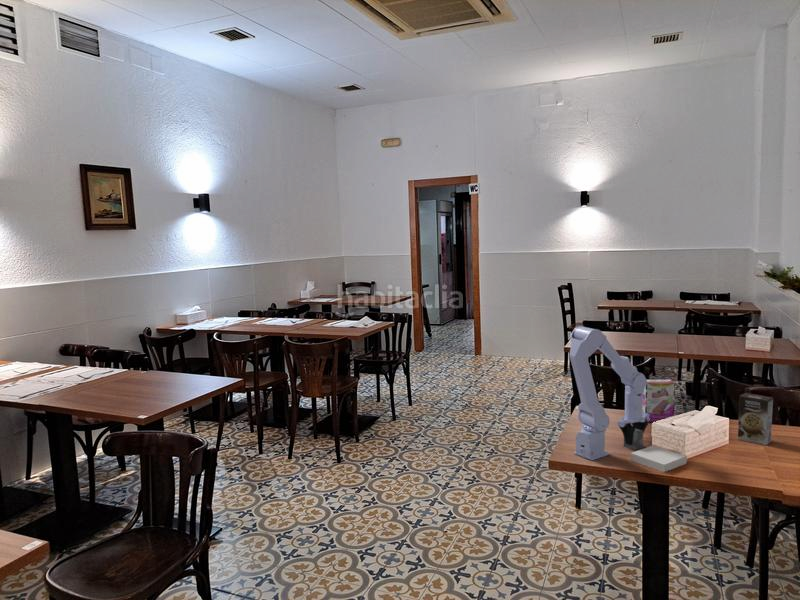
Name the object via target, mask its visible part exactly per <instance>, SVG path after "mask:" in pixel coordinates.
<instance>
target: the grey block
mask: <svg viewBox="0 0 800 600" xmlns="http://www.w3.org/2000/svg"><path fill="white" fill-rule="evenodd" d="M623 447H624V448H625V449H626V448H627V449H631V451H632V450H633V451H638V450H641V449H644V433H643V431H642V430H638V429H635V431H634V434H633V442H632V445H629V444H626V442H625V439H624V438H623Z"/></svg>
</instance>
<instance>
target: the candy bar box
mask: <svg viewBox="0 0 800 600" xmlns="http://www.w3.org/2000/svg"><path fill="white" fill-rule="evenodd" d="M646 380H647V384H646V386H645V387H644V392H643V413H647V414H649V419H648V420H646V419H645V421H647V422H648V423H655V422H654V421H657V420H661V419H665V418H667V417H669V416H673V415H674V416H675V401H676V399H675V396H676V394H675V393H676V389H675V388H676V381H673V380H672V379H646Z"/></svg>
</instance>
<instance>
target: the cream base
mask: <svg viewBox="0 0 800 600" xmlns="http://www.w3.org/2000/svg"><path fill="white" fill-rule="evenodd" d="M687 458H688V456H687V455H685V454H681V453H679V452H676V451H672V450H670V449H666V448H663V447H660V446H656V445H653V444H652V445H650V446H647V447H643V448H640V449H637V450H634V451H633V452H631V453H630V461H631V462H634V463H637V464H640V465H643V466H646V467H649V468H650V469H653V470H656V471H659V472H661V473H666V472H668V470H669V471H672V470H674V469H675V468H679V467H681V466H684V465H686V464H687V460H688V459H687ZM665 471H666V472H665Z"/></svg>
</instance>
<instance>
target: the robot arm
mask: <svg viewBox="0 0 800 600" xmlns="http://www.w3.org/2000/svg"><path fill="white" fill-rule="evenodd" d="M569 338H570V348H569V349H570V350H569V359H570V362H571V366H572V370H573V375H574V378H575V383H576V387H577V391H578V394H579V398H580V403H579V404H578V405H577V408H578V413H577V414H578V415H577V417H578V421H579V422H580V423H581V430H580V431H578V432H577V434H576V435H575V451H574V452H573V454H575V455H578V456H580V457H582V458H585V459H587V460H590V461H594V460H598V459H601V458H604V457H607V456H609V455H611V452H610V451H606V450H605V448H606V444H605V442H606V441H605V440H606V436H605V435H606V434H605V433H606V431H607V428H609V425H610V421H611V420H610V416H609V415H608V414H607V413H606V410H605V407H604V406H603V405H602V404H601V403H600V401H599V399H598V395H597V394H598V393H597V391H596V386H595V382H594V378H593V374H592V370H591V367H590V363H589V358H590V357H591V356H592V355H593V354H594V353H595V352H596V351H597V350H599V351H600V352H601V353H602V354H603V355H604V356H605V357H606V358H607V359H608V360H609V361H610V362H611V365H610V366H611V368H612V370H613V371H614V372H615V373H616V374H617V375H618V376H619V377H620V380H621V381H620V382H621V383H622V384H624V385H625V386H624V388H625V389H624V416H622V417H621V419H617V427H619V428H620V430H621V432H622V435H623V440H624V439H625V442H626V444H629V445H632V442H633V434H634V431H635V429H638V430H642V431H643V434H645V433H644V432H645V431H646V428H647V427H648V426H649V422H647V421H645V419H646V420H648V419H649V414H647V413H643V392H644V387H645V386H646V384H647V380H648V379H647V378H646V376H645V375H644V373H642V372H639V371H638V368H637V367H636V366H634V365H633V364H632V362H631V361H630V358H629V357H628V356H625V355H620V354H619V353H618V351H617V350H616V349H615V348H614V347H613V345H612V344H611V343H610V341H609V339H608V338H607V335H605V334H604V333H603V332H602V330H600V329H597V328H591V327H586V326H583V325H578V326H576V327H574V329H573V330H572V332H571V333H570V335H569Z"/></svg>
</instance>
